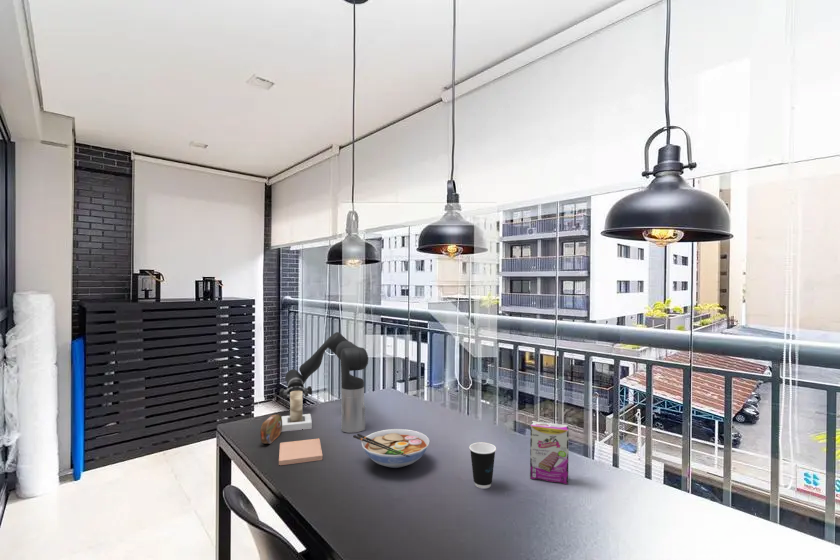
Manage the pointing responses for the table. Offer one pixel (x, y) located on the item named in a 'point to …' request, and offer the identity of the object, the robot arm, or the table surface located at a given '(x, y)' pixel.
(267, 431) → the tin
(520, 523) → the table surface
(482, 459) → the dixie cup
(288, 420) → the pocket block
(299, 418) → the maple plug
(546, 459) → the candy bar box
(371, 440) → the ramen bowl
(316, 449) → the terracotta tile
